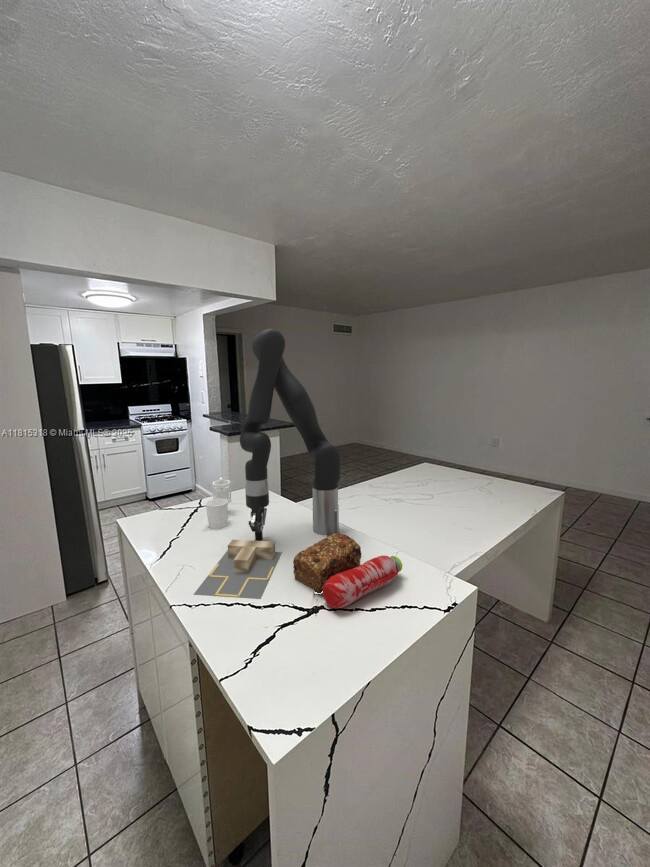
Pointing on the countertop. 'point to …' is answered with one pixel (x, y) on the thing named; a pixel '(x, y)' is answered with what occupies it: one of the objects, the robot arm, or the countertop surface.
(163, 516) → the countertop surface
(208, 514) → the white cup
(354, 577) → the water bottle
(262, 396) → the robot arm
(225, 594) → the board
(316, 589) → the bread
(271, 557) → the t block
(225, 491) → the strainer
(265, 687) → the countertop surface
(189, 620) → the countertop surface
